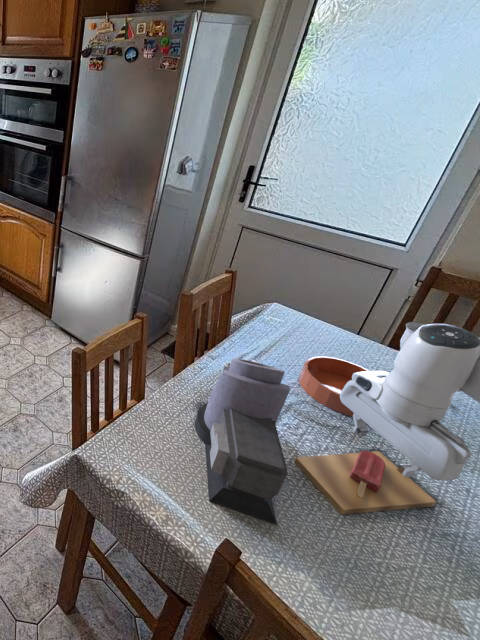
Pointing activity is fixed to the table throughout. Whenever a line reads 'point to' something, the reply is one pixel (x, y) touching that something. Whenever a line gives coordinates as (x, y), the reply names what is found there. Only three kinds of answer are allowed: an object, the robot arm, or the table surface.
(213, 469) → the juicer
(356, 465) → the popsicle
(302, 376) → the terracotta plant saucer
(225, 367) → the lighter
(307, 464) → the board
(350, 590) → the table surface
